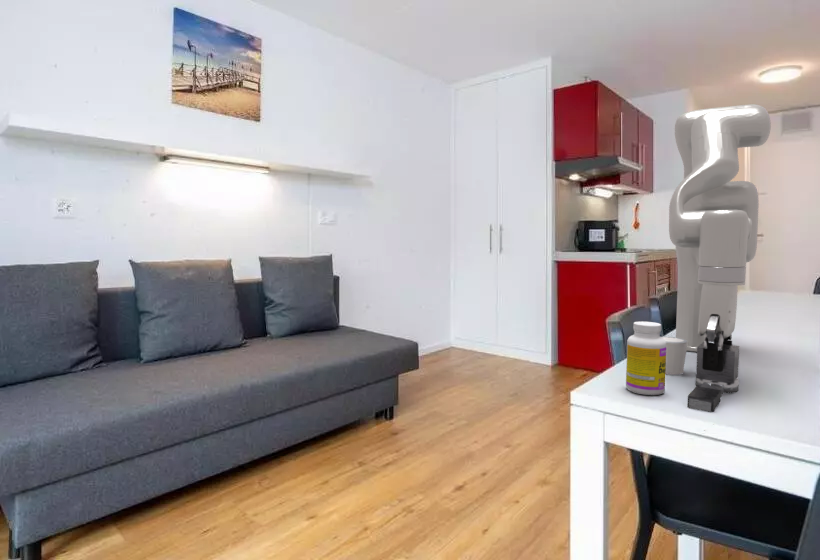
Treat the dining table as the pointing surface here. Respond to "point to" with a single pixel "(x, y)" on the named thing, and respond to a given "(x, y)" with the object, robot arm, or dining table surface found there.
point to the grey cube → (729, 365)
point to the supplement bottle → (646, 359)
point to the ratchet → (709, 394)
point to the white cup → (675, 355)
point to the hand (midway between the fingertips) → (717, 364)
